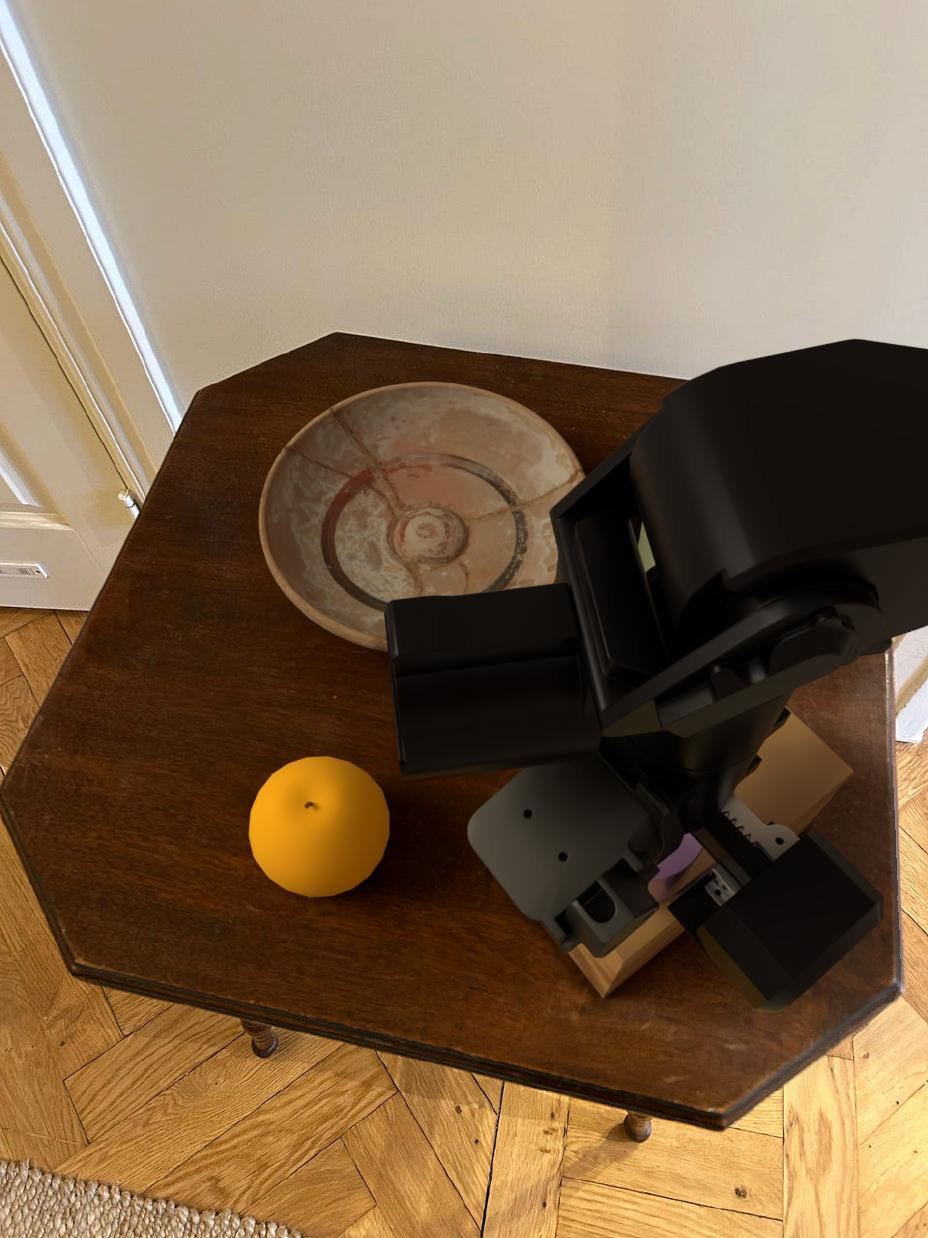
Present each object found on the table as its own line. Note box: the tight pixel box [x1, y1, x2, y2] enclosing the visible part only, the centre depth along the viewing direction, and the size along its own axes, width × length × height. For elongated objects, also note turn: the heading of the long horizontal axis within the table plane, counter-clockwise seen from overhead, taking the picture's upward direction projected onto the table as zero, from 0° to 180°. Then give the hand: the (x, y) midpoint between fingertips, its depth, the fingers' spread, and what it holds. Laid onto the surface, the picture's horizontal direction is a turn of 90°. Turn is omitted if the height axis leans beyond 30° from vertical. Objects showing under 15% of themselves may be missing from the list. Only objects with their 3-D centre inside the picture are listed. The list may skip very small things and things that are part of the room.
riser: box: [567, 705, 855, 999], centre depth 50 cm, size 8×16×9 cm, turn 126°
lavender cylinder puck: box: [648, 833, 703, 902], centre depth 43 cm, size 6×6×4 cm
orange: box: [248, 755, 390, 898], centre depth 52 cm, size 8×8×8 cm
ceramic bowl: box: [258, 381, 587, 653], centre depth 65 cm, size 23×24×5 cm
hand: (631, 842), depth 45 cm, fingers open, 7 cm apart
